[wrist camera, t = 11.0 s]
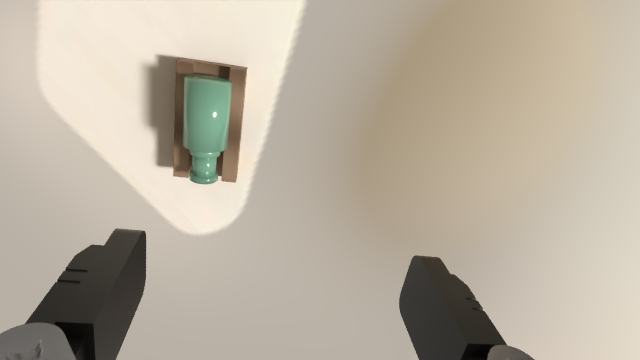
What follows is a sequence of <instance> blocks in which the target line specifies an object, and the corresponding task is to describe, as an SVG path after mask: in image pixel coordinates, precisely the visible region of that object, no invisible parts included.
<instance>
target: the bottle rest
mask: <svg viewBox="0 0 640 360" xmlns="http://www.w3.org/2000/svg"><path fill="white" fill-rule="evenodd" d="M187 75H211V76H217V77H222V78H225V79H228V80H230V81H232V95H231V108H230V121H229V134H228V147H227V149H226V150H224V151H221V153H220V156H219V157H217V164H216V171H217V172H218V176H222V181H226V182H236V178H237V172H238V161H239V151H240V140H241V129H242V118H243V107H244V96H245V86H246V75H247V68H246V67H239V66H233V65H226V64H219V63H213V62H206V61H199V60H193V59H186V58H180V59H179V60H177V61H176V93H175V133H174V173H173V176H177V177H187V178H188V177H189V175H190V170H191V169H192V155H191V154H190V153H189V149H187V148H185V147H184V146H183V112H184V77H185V76H187Z"/></svg>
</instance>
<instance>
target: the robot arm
mask: <svg viewBox="0 0 640 360" xmlns="http://www.w3.org/2000/svg"><path fill="white" fill-rule="evenodd" d="M145 280H146V233H145V231H140V230H129V229H115V230H114V231H113V233H112V234H111V236H110V238H109V239H108V241H107V242H106V244H105V245H104V246H101V245H91V246H89V247H88V248H86V249H84V250H83V251H81V252H80V253H78V254H77V255H75V256H74V258H73V259H72V261H71V262H70V263H69V265H68V266H67V267H66V270H65V271H64V272H63V273H62V274H61V276H60V277H59V278H58V281H57V283H55V284H54V285H53V287H52V288H51V289H50V291H49V292H48V293H47V295H46V296H45V297H44V299H43V300H42V301H41V303H40V304H39V305H38V307H37V308H36V310H35V311H34V312H33V314H32V315H31V316H30V318H29V319H28V320H27V322H26V323H25V324H24V325H20V326H16V327H14V328H11V329H9V330H7V331H5V332H3V333H1V334H0V360H116V358H117V355H118V353H119V350H120V348H121V346H122V343H123V341H124V338H125V336H126V334H127V331H128V329H129V327H130V324H131V322H132V319H133V317H134V315H135V312H136V310H137V307H138V305H139V303H140V300H141V298H142V295H143V291H144V286H145ZM399 305H400V306H399V307H400V313H401V316H402V318H403V321H404V323H405V326H406V328H407V331H408V333H409V336H410V338H411V341H412V343H413V346H414V348H415V350H416V353H417V355H418V358H419V360H534V359H533V358H532V357H531V356H529V355H528V354H526V353H525V352H523V351H521V350H519V349H517V348H514V347H511V346H507V344H506V343H505V341H504V340H503V338H502V337H501V335H500V334H499V332H498V331H497V329H496V328H495V326H494V325H493V323H492V322H491V320H490V319H489V317H488V316H487V314H486V313H485V312H484V311H483V308H482V307H481V305H480V304H479V302H478V301H476V298H475V296H474V295H473V293H472V292H471V291H470V289H469V287H468V286H467V285H466V284H464V282H462V281H461V280H460V279H459V278H457V276H455V275H453V274H450V273H449V271H448V270H447V268H446V266H445V265H444V263H443V262H442V261H441V259H440V258H438V257H427V256H414V257H413V258H412V260H411V263H410V266H409V269H408V272H407V275H406V278H405V282H404V284H403V287H402V290H401V294H400V300H399Z"/></svg>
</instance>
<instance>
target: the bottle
mask: <svg viewBox="0 0 640 360" xmlns="http://www.w3.org/2000/svg"><path fill="white" fill-rule="evenodd" d="M231 95H232V81H230V80H228V79H225V78H222V77H217V76H211V75H187V76H185V77H184V112H183V146H184V147H185V148H187V149H189V153H190V154H191V155H192V169H191V170H190V175H189V178H190V180H191V181H192V182H195V183H198V184H211V183H214V182H216V181H217V180H218V172H217V171H216V164H217V157H219V156H220V153H221V151H224V150H226V149H227V147H228V134H229V121H230V108H231Z"/></svg>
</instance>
